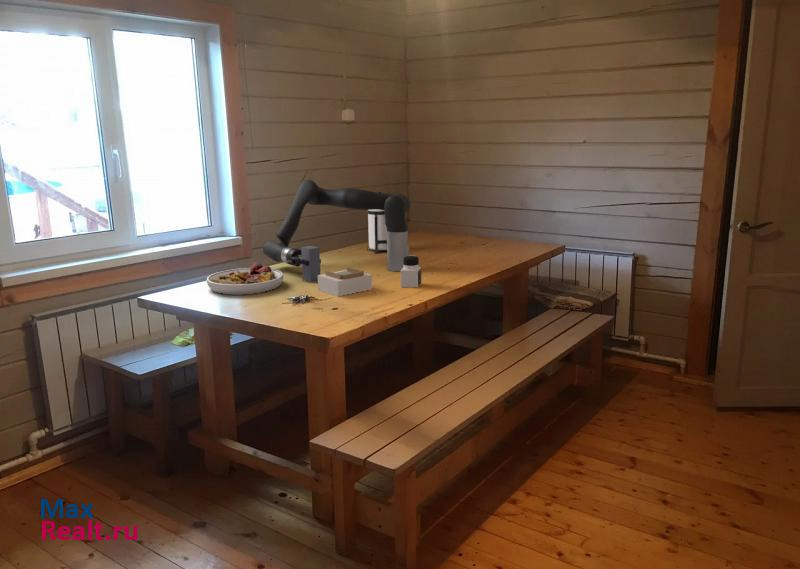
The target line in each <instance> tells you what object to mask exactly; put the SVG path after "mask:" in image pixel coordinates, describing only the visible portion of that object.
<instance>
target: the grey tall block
mask: <svg viewBox="0 0 800 569" xmlns="http://www.w3.org/2000/svg"><path fill="white" fill-rule="evenodd" d="M300 250H301V253H302V259H303V260H304V259H305V260H308V261H309V266H306V265H301V267H302V269H301V270H302V273H301V274H302V281H304V280H305V281H304V282H307V281H309V282H308V283H314V281H316V282H318V275H321V264H320V259H321V258H320V257H321V256H320V254H321V253H320V247H318V246H313V245H309V246H308V245H307V246H301V247H300Z"/></svg>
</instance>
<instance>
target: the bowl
mask: <svg viewBox="0 0 800 569" xmlns="http://www.w3.org/2000/svg"><path fill="white" fill-rule="evenodd" d="M283 280H284V273H283V272H282V271H281V270H278V269H273V268H271V267H270V266H269V265H265V266H264V265H262V263H260V262H254V263H253V264H252V265H251V266H250V267H245V268H244V267H243V268H242V267H241V268H233V269H227V270H223V271H218V272H215V273H212V274H209V276H207V278H206V283H207V286H208V287H209V289H210V290H212V291H213V292H215V293H217V292H218V293H217V294H221V293H223V294H222V295H227V294H232V295H231V296H244V295H243V294H249V295H255V294H254V293H257V294H261V293H260V292H263V293H266V292H265V291H267V292H270V291H273V290H275V289H277V288H279V286H280V285H282V283H283ZM272 289H273V290H272ZM269 290H270V291H269Z"/></svg>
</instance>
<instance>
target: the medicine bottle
mask: <svg viewBox="0 0 800 569" xmlns="http://www.w3.org/2000/svg"><path fill="white" fill-rule="evenodd" d="M419 259H420V258H419V256H416V255H411V254H410V256H405V257H404V258H403V260H404V267H403V268H402V269H401V271H400V287H401V288H412V287H418V288H419V287H420V286H421V285H420V284H422V266H419V264H420V262H419Z"/></svg>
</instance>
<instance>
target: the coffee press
mask: <svg viewBox="0 0 800 569" xmlns="http://www.w3.org/2000/svg"><path fill="white" fill-rule="evenodd" d="M377 193H382V192H381V191H378V192H377ZM367 223H368V224H367V228H368V232H367V233H368V245H367V247H366V250H367V251H368V250H369V251H370V250H374V254H379V251H387V227H386V225H385V213H384V210H379V209H374V210H367Z"/></svg>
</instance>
